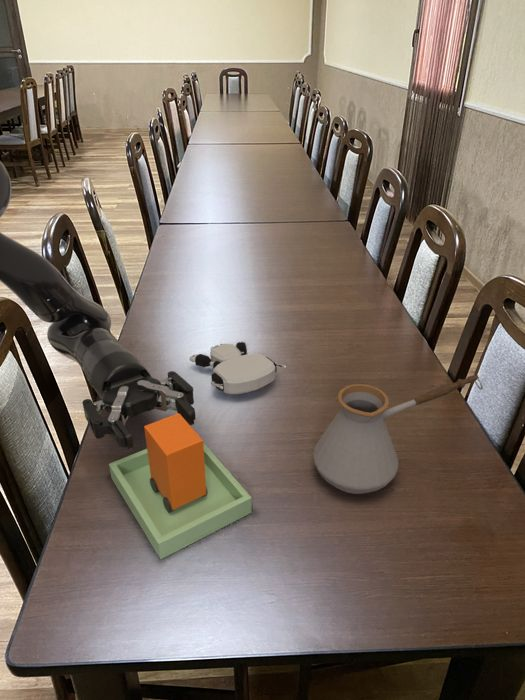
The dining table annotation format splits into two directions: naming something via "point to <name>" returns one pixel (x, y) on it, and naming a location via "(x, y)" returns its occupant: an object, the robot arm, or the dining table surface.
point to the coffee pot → (365, 438)
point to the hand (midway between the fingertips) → (162, 431)
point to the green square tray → (187, 520)
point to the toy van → (175, 461)
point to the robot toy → (237, 368)
